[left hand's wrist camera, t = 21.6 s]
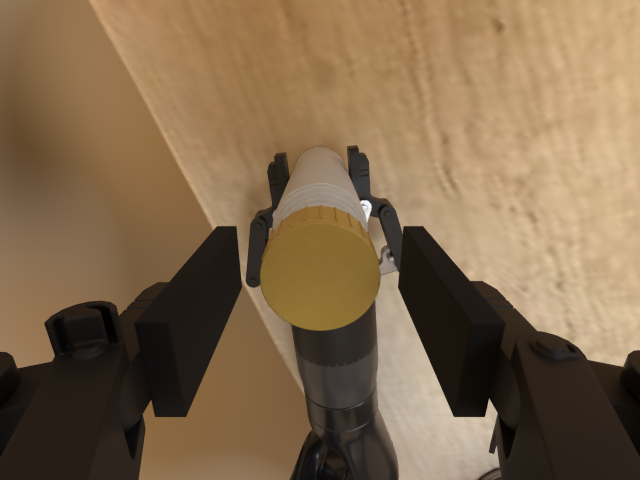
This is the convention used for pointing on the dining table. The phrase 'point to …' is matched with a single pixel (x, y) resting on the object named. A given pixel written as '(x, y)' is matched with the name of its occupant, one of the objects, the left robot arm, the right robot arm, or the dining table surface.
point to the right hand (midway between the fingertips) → (316, 151)
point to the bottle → (319, 186)
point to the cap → (320, 269)
